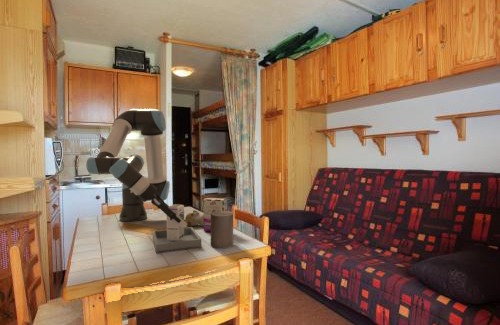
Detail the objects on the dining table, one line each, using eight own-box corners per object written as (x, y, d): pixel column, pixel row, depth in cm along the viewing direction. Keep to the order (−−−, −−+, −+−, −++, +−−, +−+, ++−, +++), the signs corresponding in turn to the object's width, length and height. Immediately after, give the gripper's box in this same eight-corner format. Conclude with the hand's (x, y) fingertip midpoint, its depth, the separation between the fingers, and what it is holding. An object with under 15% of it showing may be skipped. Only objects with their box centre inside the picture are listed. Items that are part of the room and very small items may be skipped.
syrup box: (179, 241, 119) (178, 207, 118) (166, 240, 120) (166, 206, 119) (184, 237, 124) (184, 204, 124) (172, 236, 126) (172, 204, 125)
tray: (152, 238, 128) (152, 231, 128) (192, 234, 135) (192, 227, 135) (156, 253, 110) (155, 244, 109) (201, 247, 117) (201, 239, 116)
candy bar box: (227, 230, 141) (227, 198, 140) (223, 233, 136) (223, 200, 136) (207, 228, 145) (207, 197, 144) (203, 231, 140) (203, 198, 139)
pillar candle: (206, 244, 121) (206, 209, 120) (225, 239, 127) (224, 206, 126) (219, 250, 113) (218, 213, 113) (238, 245, 119) (238, 210, 119)
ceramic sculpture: (205, 211, 145) (176, 213, 145) (206, 228, 145) (177, 229, 145) (208, 207, 156) (181, 209, 156) (209, 223, 156) (182, 224, 156)
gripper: (136, 192, 125) (174, 224, 132) (137, 200, 106) (181, 237, 113) (149, 180, 127) (185, 212, 134) (152, 185, 108) (194, 222, 115)
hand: (183, 223), depth 123 cm, fingers closed on syrup box, 7 cm apart
